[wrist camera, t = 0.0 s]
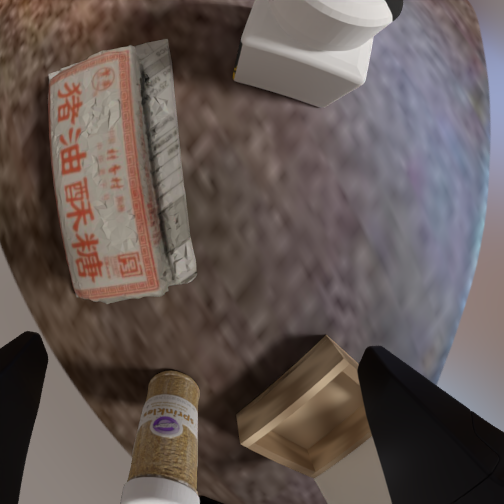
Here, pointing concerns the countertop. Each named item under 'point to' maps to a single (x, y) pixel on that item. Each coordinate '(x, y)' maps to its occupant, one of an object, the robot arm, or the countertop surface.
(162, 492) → the sprinkles bottle
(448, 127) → the countertop surface
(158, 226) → the packaged product
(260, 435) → the box
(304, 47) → the medicine bottle
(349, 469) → the lid
